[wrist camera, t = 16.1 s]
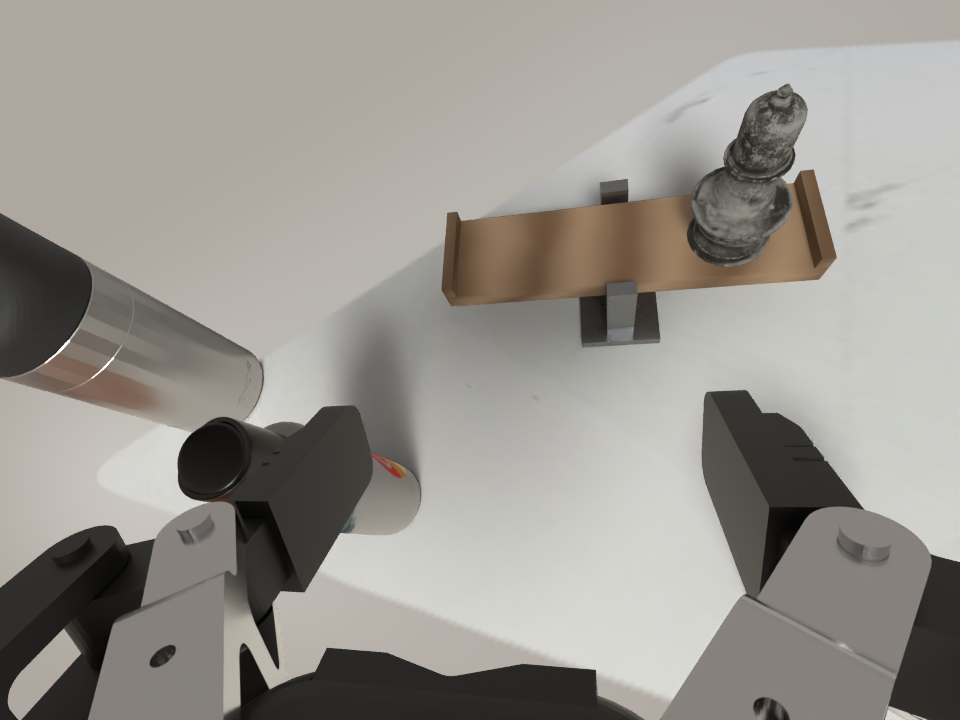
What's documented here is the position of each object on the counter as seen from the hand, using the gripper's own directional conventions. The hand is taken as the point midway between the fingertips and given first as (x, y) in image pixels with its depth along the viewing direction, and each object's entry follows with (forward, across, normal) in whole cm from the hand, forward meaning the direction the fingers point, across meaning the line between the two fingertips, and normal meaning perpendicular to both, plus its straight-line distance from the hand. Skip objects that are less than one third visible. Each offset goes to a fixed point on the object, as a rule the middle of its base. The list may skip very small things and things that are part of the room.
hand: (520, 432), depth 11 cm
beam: (+29, -4, +2) cm, 29 cm away
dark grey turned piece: (+28, -12, +2) cm, 30 cm away
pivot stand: (+32, -4, +6) cm, 33 cm away
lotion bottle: (+20, +15, +19) cm, 31 cm away
